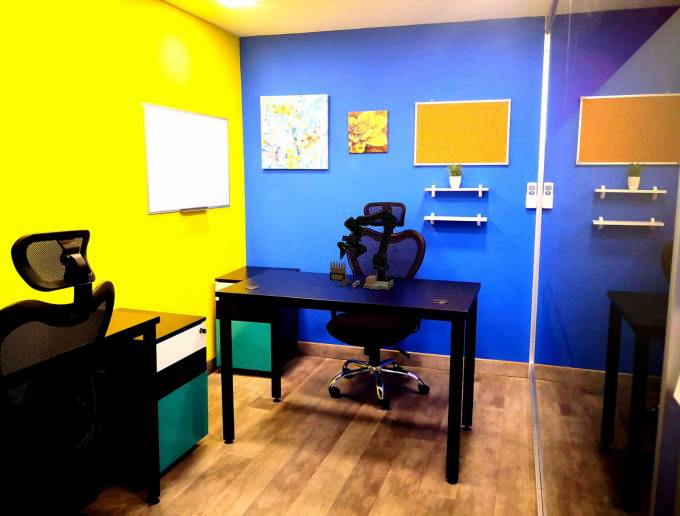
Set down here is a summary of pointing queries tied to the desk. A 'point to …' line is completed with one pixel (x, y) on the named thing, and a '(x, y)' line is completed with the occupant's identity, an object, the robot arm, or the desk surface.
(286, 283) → the desk surface
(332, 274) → the ammunition clip
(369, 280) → the block
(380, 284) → the trap board
